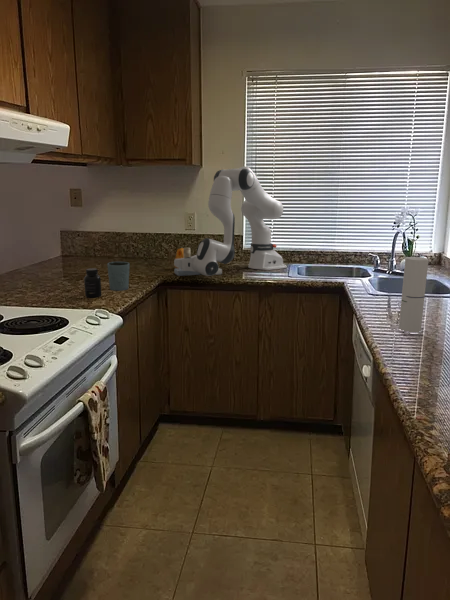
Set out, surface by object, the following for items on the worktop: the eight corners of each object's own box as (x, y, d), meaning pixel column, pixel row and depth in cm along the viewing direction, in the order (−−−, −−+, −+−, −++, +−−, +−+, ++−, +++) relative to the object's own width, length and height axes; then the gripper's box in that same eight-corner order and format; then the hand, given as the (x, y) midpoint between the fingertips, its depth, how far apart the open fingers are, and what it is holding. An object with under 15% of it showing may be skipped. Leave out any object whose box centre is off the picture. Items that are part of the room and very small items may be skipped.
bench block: (195, 271, 272) (195, 267, 271) (200, 274, 265) (200, 269, 264) (174, 273, 268) (174, 268, 267) (178, 275, 261) (178, 271, 260)
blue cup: (118, 285, 236) (117, 260, 233) (135, 287, 231) (134, 262, 228) (103, 289, 227) (102, 263, 224) (121, 292, 223) (120, 265, 220)
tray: (216, 271, 275) (216, 266, 274) (221, 274, 266) (222, 269, 266) (200, 272, 272) (200, 267, 271) (205, 275, 263) (205, 270, 263)
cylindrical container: (415, 335, 163) (423, 261, 157) (395, 331, 168) (401, 258, 162) (423, 331, 168) (431, 258, 162) (403, 327, 173) (410, 256, 167)
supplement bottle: (88, 294, 217) (86, 267, 214) (103, 294, 217) (102, 267, 214) (83, 298, 211) (81, 270, 208) (99, 298, 210) (97, 270, 208)
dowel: (189, 273, 269) (189, 247, 265) (191, 274, 265) (191, 248, 262) (183, 273, 267) (182, 247, 264) (184, 274, 264) (184, 248, 261)
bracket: (195, 269, 279) (195, 248, 276) (185, 271, 275) (184, 249, 272) (184, 267, 287) (184, 246, 284) (174, 268, 283) (174, 247, 280)
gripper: (216, 256, 256) (205, 252, 267) (180, 258, 246) (170, 254, 258) (216, 268, 257) (205, 264, 269) (180, 271, 248) (170, 266, 260)
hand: (187, 259), depth 264 cm, fingers open, 8 cm apart
